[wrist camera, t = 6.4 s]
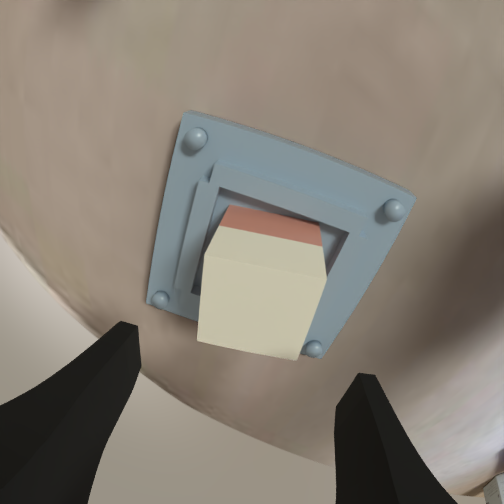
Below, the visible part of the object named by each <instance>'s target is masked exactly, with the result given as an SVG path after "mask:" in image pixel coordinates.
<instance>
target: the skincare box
mask: <svg viewBox="0 0 504 504" xmlns="http://www.w3.org/2000/svg"><path fill="white" fill-rule="evenodd" d="M483 491H484V496H485V500H486V504H504V473H502V474H499V475H497V476H495V477H494V479H493V480H492V481H491V482H489V483H488V484H487V485H486V486H485V487H484V488H483Z"/></svg>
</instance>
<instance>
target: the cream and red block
mask: <svg viewBox="0 0 504 504" xmlns="http://www.w3.org/2000/svg"><path fill="white" fill-rule="evenodd" d="M326 281H327V276H326V268H325V261H324V253H323V246H322V239H321V233H320V226H319V223H318V222H313V221H308V220H304V219H299V218H294V217H290V216H285V215H280V214H275V213H270V212H265V211H260V210H255V209H250V208H245V207H240V206H235V205H229V207H228V209H227V211H226V213H225V214H224V216H223V218H222V220H221V222H220V224H219V226H218V228H217V230H216V232H215V234H214V236H213V238H212V240H211V242H210V244H209V246H208V248H207V250H206V252H205V254H204V264H203V275H202V285H201V296H200V308H199V320H198V333H197V341H200V342H204V343H209V344H213V345H218V346H222V347H227V348H231V349H236V350H241V351H246V352H251V353H256V354H261V355H266V356H272V357H277V358H283V359H289V360H295V361H297V359H298V356H299V354H300V351H301V349H302V346H303V343H304V341H305V338H306V336H307V333H308V330H309V328H310V325H311V323H312V320H313V317H314V314H315V312H316V309H317V306H318V304H319V301H320V298H321V295H322V292H323V290H324V287H325V284H326Z"/></svg>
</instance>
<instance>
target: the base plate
mask: <svg viewBox="0 0 504 504" xmlns="http://www.w3.org/2000/svg"><path fill="white" fill-rule="evenodd" d="M416 199H417V198H416V197H415V196H414V195H413V194H412V193H411V192H410V191H409V190H407V189H405V188H403V187H401V186H399V185H397V184H395V183H393V182H390V181H388V180H386V179H384V178H382V177H379V176H377V175H375V174H373V173H370V172H368V171H366V170H363V169H361V168H359V167H356V166H354V165H352V164H349V163H347V162H344V161H342V160H339V159H337V158H334V157H332V156H329V155H327V154H324V153H322V152H319V151H316V150H314V149H311V148H309V147H306V146H303V145H300V144H298V143H295V142H292V141H289V140H286V139H284V138H281V137H278V136H275V135H272V134H269V133H266V132H263V131H260V130H257V129H254V128H251V127H248V126H244V125H241V124H238V123H235V122H231V121H228V120H225V119H221V118H218V117H214V116H211V115H207V114H204V113H200V112H196V111H192V110H190V111H187V112H184V113H183V117H182V121H181V124H180V128H179V132H178V136H177V140H176V144H175V148H174V153H173V157H172V161H171V166H170V170H169V175H168V179H167V184H166V188H165V193H164V198H163V203H162V208H161V213H160V218H159V224H158V229H157V235H156V241H155V246H154V252H153V258H152V265H151V271H150V278H149V285H148V292H147V299H146V303H147V304H150V305H153V306H154V307H156V308H158V309H163V310H166V311H169V312H172V313H174V314H177V315H180V316H183V317H186V318H189V319H191V320H194V321H197V322H198V320H199V308H200V296H201V285H202V275H203V264H204V254H205V252H206V250H207V248H208V246H209V244H210V242H211V240H212V238H213V236H214V234H215V232H216V230H217V228H218V226H219V224H220V222H221V220H222V218H223V216H224V214H225V213H226V211H227V209H228V207H229V205H235V206H240V207H245V208H250V209H255V210H260V211H265V212H270V213H275V214H280V215H285V216H290V217H294V218H299V219H304V220H308V221H313V222H318V223H319V226H320V233H321V239H322V246H323V253H324V261H325V268H326V276H327V281H326V284H325V287H324V290H323V292H322V295H321V298H320V301H319V304H318V306H317V309H316V312H315V314H314V317H313V320H312V323H311V325H310V328H309V330H308V333H307V336H306V338H305V341H304V343H303V346H302V349H301V351H300V353H301V354H305V355H307V356H309V357H313V358H314V357H316V358H320V359H321V358H322V357H323V355H324V354H325V353H326V351H327V350H328V348H329V347H330V345H331V344H332V342H333V341H334V339H335V338H336V336H337V335H338V333H339V332H340V330H341V329H342V327H343V326H344V324H345V323H346V321H347V320H348V318H349V317H350V315H351V314H352V312H353V310H354V309H355V307H356V306H357V304H358V302H359V301H360V299H361V298H362V296H363V294H364V293H365V291H366V289H367V288H368V286H369V284H370V283H371V281H372V279H373V278H374V276H375V274H376V273H377V271H378V269H379V268H380V266H381V264H382V262H383V261H384V259H385V257H386V255H387V254H388V252H389V250H390V248H391V246H392V245H393V243H394V241H395V239H396V237H397V235H398V234H399V232H400V230H401V228H402V226H403V224H404V222H405V220H406V218H407V216H408V215H409V213H410V211H411V209H412V207H413V205H414V203H415V201H416Z"/></svg>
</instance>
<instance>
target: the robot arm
mask: <svg viewBox="0 0 504 504" xmlns="http://www.w3.org/2000/svg"><path fill="white" fill-rule="evenodd" d="M140 368H141V356H140V345H139V333H138V326H136V325H133V324H130V323H126V322H123V321H120V322H118V323H117V324H116V325H115V326H114V327H112V328H111V329H110V330H109V331H108V332H107V333H106V334H104V335H103V336H102V337H101V338H100V339H98V340H97V341H96V342H95V343H94V344H93V345H91V346H90V347H89V348H88V349H87V350H85V351H84V352H83V353H81V354H80V355H79V356H78V357H76V358H75V359H74V360H73V361H71V362H70V363H69V364H67V365H66V366H65V367H63V368H62V369H61V370H59V371H58V372H56V373H55V374H54V375H52V376H51V377H49V378H48V379H46V380H45V381H43V382H42V383H40V384H39V385H38V386H36V387H34V388H32V389H31V390H29V391H27V392H25V393H24V394H22V395H20V396H18V397H16V398H14V399H13V400H10V401H9V402H7V403H4V404H2V405H0V504H88V500H89V495H90V492H91V488H92V485H93V481H94V478H95V474H96V471H97V468H98V465H99V462H100V459H101V456H102V453H103V450H104V448H105V445H106V443H107V441H108V438H109V437H110V435H111V433H112V431H113V429H114V427H115V425H116V423H117V421H118V419H119V417H120V415H121V413H122V411H123V409H124V407H125V405H126V403H127V401H128V399H129V397H130V395H131V393H132V390H133V388H134V385H135V382H136V380H137V377H138V374H139V371H140ZM334 442H335V464H336V504H457V502H456V501H455V500H454V499H453V498H452V497H451V496H450V495H449V494H448V492H447V491H446V490H445V489H444V488H443V487H442V486H441V484H440V483H439V482H438V481H437V479H436V478H435V477H434V475H433V474H432V473H431V471H430V470H429V469H428V467H427V466H426V464H425V463H424V461H423V460H422V459H421V457H420V455H419V454H418V452H417V451H416V449H415V447H414V446H413V444H412V443H411V441H410V439H409V437H408V436H407V434H406V432H405V430H404V429H403V427H402V425H401V423H400V421H399V420H398V418H397V416H396V414H395V412H394V410H393V408H392V406H391V404H390V403H389V401H388V399H387V397H386V395H385V393H384V391H383V389H382V387H381V385H380V383H379V381H378V380H377V378H376V376H375V375H372V374H364V373H358V374H357V376H356V377H355V379H354V380H353V382H352V384H351V385H350V387H349V388H348V390H347V391H346V393H345V394H344V396H343V397H342V399H341V400H340V402H339V403H338V404H337V406H336V413H335V427H334Z"/></svg>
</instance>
